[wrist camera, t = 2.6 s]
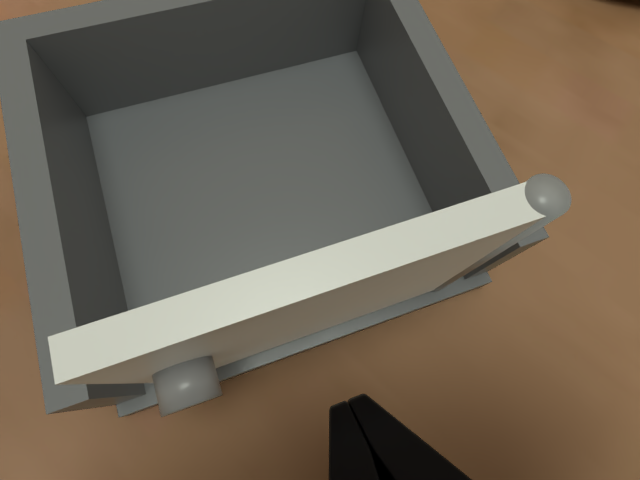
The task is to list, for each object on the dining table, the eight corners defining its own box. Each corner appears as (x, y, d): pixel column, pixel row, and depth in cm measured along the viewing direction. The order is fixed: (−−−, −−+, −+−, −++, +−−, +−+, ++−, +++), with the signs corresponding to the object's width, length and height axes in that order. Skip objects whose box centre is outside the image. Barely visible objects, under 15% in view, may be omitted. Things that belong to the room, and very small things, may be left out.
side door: (439, 262, 19) (556, 168, 11) (461, 309, 19) (603, 248, 10) (169, 356, 17) (46, 332, 9) (182, 412, 16) (64, 446, 8)
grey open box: (482, 286, 20) (566, 244, 14) (128, 415, 17) (36, 434, 11) (351, 15, 25) (370, -104, 19) (61, 81, 23) (-27, -33, 16)
